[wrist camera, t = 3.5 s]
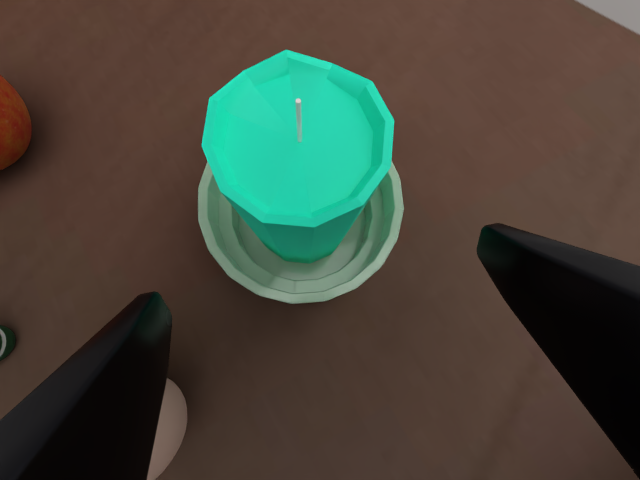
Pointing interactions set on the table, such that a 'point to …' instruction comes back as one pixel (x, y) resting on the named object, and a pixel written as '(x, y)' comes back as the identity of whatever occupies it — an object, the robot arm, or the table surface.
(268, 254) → the bowl
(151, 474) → the egg
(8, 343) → the flashlight
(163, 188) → the table surface
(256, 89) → the candle
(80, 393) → the robot arm
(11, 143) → the fruit
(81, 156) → the table surface
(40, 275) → the table surface
